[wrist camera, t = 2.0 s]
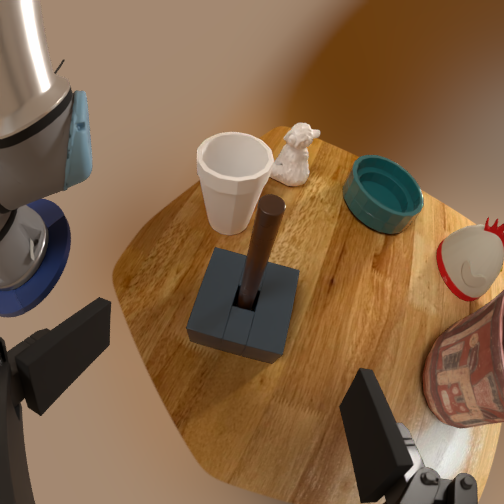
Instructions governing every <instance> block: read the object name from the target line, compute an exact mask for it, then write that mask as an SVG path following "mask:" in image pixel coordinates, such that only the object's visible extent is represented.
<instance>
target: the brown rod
mask: <svg viewBox="0 0 504 504" xmlns="http://www.w3.org/2000/svg"><path fill="white" fill-rule="evenodd" d="M285 208H286V205H285V202H284V201H283V200H282V199H281V198H280V197H278V196H276V195H272V194H269V195H265V196H263V197H261V198H260V200H259V203H258V207H257V212H256V217H255V221H254V226H253V231H252V235H251V240H250V245H249V249H248V254H247V259H246V264H245V268H244V273H243V278H242V282H241V287H240V292H239V297H238V301H237V306H236V307H239V308H242V309H246V310H250V311H251V308H252V305H253V303H254V300H255V297H256V294H257V291H258V288H259V285H260V282H261V280H262V277H263V274H264V271H265V268H266V265H267V262H268V259H269V256H270V253H271V250H272V247H273V244H274V241H275V239H276V236H277V233H278V230H279V227H280V224H281V221H282V218H283V215H284V212H285Z"/></svg>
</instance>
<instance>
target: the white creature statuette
mask: <svg viewBox="0 0 504 504" xmlns="http://www.w3.org/2000/svg"><path fill="white" fill-rule="evenodd" d="M319 135H320V131H319V130H312V129H311V127H310V125H309V124H306V123H297V125H294V126H293V127H292V130H290V131H288V133H287V134H286V135H285V136H284V140H285V141H286V142H287V144H286V145H284V146H283V148H282V150H281V152H280V154H279V155H278V156H279V157H278V158H276V160H275V162H273V166H272V171H271V174H270V176H269V177H271V178H272V179H275V180H277V181H280V182H281V183H283V184H285V185H286V186H298V185H302V184H304V183H305V182H306V180H307V178H308V177H309V173H310V171H309V169H308V166H309V165H308V161H307V160H308V157H309V156H308V151H307V148H306V147H308V146H309V145H310V144H311V143H312V141H313V138H318V137H319Z"/></svg>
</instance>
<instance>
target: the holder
mask: <svg viewBox="0 0 504 504" xmlns="http://www.w3.org/2000/svg"><path fill="white" fill-rule="evenodd" d="M246 259H247V256H246V255H242V254H238V253H235V252H231V251H227V250H224V249H220V248H217V247H215V248H214V251H213V254H212V256H211V259H210V262H209V265H208V267H207V270H206V273H205V276H204V278H203V281H202V284H201V287H200V289H199V292H198V295H197V298H196V301H195V304H194V306H193V309H192V312H191V315H190V318H189V321H188V324H187V327H186V329H187V332H188V335H189V338H190V341H191V342H195V343H198V344H201V345H204V346H208V347H211V348H214V349H218V350H222V351H225V352H229V353H232V354H236V355H239V356H243V357H247V358H251V359H255V360H259V361H263V362H267V363H271V364H272V363H274V362H275V361H276V360H277V359H278V358H279V357H280V356H282V355H283V351H284V346H285V342H286V337H287V332H288V328H289V323H290V318H291V313H292V308H293V303H294V298H295V293H296V288H297V282H298V277H299V272H300V270H296V269H293V268H289V267H286V266H282V265H278V264H275V263H271V262H267V265H266V268H265V271H264V274H263V277H262V280H261V282H260V285H259V288H258V291H257V294H256V297H255V300H254V303H253V305H252V308H253V309H254V310H253V311H250V310H246V309H242V308H239V307H235V306H234V304H237V301H238V297H239V292H240V287H241V282H242V278H243V273H244V268H245V264H246Z"/></svg>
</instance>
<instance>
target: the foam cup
mask: <svg viewBox="0 0 504 504" xmlns="http://www.w3.org/2000/svg"><path fill="white" fill-rule="evenodd" d="M273 162H274V159H273V155H272V151H271V149H270V148H269V147H268V146H267V145H266V144H265V143H264V142H263V141H262V140H260V139H258V138H256V137H254V136H252V135H250V134H245V133H238V132H226V133H219V134H216V135H213V136H211V137H209V138H207V139H205V140H204V141H203V143H202V144H201V145H200V146H199V148H198V149H197V174H198V176H199V178H200V183H201V188H202V193H203V197H204V202H205V207H206V212H207V216H208V220H209V223H210V225H211V227H212V228H213V229H214V230H215V231H217V232H219V233H220V234H225V235H234V234H238V233H240V232H242V231H243V230H244V229H246V227H247V225H248V223H249V221H250V218H251V216H252V214H253V211H254V209H255V206H256V204H257V202H258V199H259V197H260V194H261V192H262V190H263V187H264V185H266V183H267V181H268V179H269V176H270V174H271V171H272V166H273Z"/></svg>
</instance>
